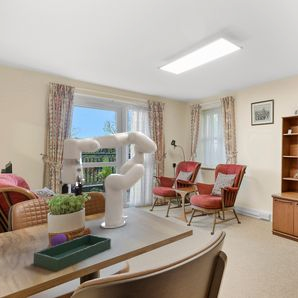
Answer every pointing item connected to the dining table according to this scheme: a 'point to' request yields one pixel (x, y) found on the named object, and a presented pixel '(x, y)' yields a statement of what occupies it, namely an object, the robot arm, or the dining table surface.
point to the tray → (71, 252)
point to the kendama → (65, 237)
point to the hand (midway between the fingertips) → (71, 194)
